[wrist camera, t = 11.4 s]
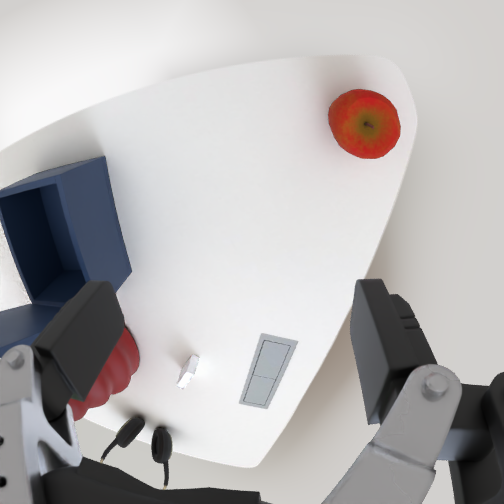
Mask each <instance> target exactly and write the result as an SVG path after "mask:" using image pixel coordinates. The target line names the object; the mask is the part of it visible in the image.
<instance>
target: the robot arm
mask: <svg viewBox="0 0 504 504" xmlns="http://www.w3.org/2000/svg"><path fill="white" fill-rule="evenodd" d="M124 325H125V323H124V316H123V314H122V311H121V308H120V305H119V302H118V300H117V297H116V294H115V291H114V288H113V286H112V284H111V283H110V282H109V281H96V280H90V281H88V282H87V283H86V284H85V285H84V286H83V287H82V288H81V290H80V291H79V292H78V293H77V294H76V295H75V296H74V297H73V298H71V299H70V300H68V301H67V302H66V303H65V304H64V306H63V307H62V308H61V309H60V310H59V313H57V314H56V315H55V316H54V317H53V320H51V321H50V322H49V323H48V324H47V326H46V327H45V328H44V329H43V331H42V332H41V333H40V334H39V335H38V337H37V338H36V339H35V340H34V342H33V343H32V344H31V346H28V345H17V346H15V347H13V348H11V349H9V350H8V351H7V352H6V353H5V354H4V355H3V356H2V358H1V359H0V504H271V503H267V502H264V501H261V497H260V493H259V492H255V491H238V490H227V489H217V488H210V487H209V488H197V489H196V488H195V489H174V490H159V489H156V488H153V487H151V486H149V485H147V484H145V483H143V482H141V481H140V480H138V479H136V478H134V477H132V476H130V475H129V474H127V473H125V472H124V471H122V470H120V469H118V468H115V467H112V466H109V465H106V464H103V463H100V462H97V461H93V460H91V459H88V458H85V457H83V456H82V453H81V450H80V446H79V442H78V438H77V434H76V429H75V424H74V419H73V413H72V409H71V407H70V405H69V404H68V402H69V400H70V398H71V399H75V400H78V401H82V402H84V401H85V399H86V397H87V396H88V394H89V392H90V390H91V388H92V386H93V385H94V383H95V381H96V379H97V377H98V375H99V374H100V372H101V370H102V368H103V367H104V365H105V363H106V361H107V359H108V358H109V356H110V354H111V353H112V351H113V349H114V347H115V346H116V344H117V342H118V341H119V339H120V337H121V335H122V334H123V331H124ZM350 335H351V341H352V345H353V350H354V354H355V359H356V364H357V369H358V373H359V378H360V383H361V388H362V393H363V399H364V404H365V410H366V416H367V421H368V425H370V424H377V423H380V428H379V430H378V431H377V433H376V434H375V436H374V437H373V439H372V440H371V442H369V443H368V444H367V445H366V447H365V448H364V449H363V451H362V452H361V453H360V455H359V456H358V458H357V459H356V461H355V462H354V463H353V465H352V466H351V468H350V469H349V470H348V471H347V473H346V474H345V475H344V477H343V478H342V479H341V480H340V482H339V483H338V484H337V485H336V487H335V488H334V489H333V490H332V492H331V493H330V494H329V495H328V496H327V498H326V499H325V500H324V501H323V502H322V503H321V504H422V502H423V500H424V499H425V497H426V495H427V493H428V491H429V489H430V487H431V485H432V483H433V481H434V478H435V474H436V470H434V465H435V462H436V460H448V462H449V467H450V474H451V479H452V485H453V491H454V499H455V504H504V372H502V373H500V374H498V375H497V376H496V377H495V378H494V379H493V381H492V382H491V384H490V386H482V385H469V384H462V383H460V380H459V379H458V377H457V376H456V375H455V373H453V372H452V371H451V370H449V369H448V368H446V367H443V366H440V365H438V364H437V361H436V359H435V357H434V355H433V353H432V350H431V348H430V346H429V344H428V342H427V339H426V338H425V335H424V333H423V331H422V329H421V328H420V325H419V323H418V321H417V319H416V318H415V315H414V313H413V311H412V309H411V307H410V305H409V304H408V303H407V302H406V301H405V300H404V299H403V298H402V297H400V296H399V295H398V294H391V295H389V293H388V291H387V289H386V287H385V285H384V283H383V281H382V279H359V280H357V281H356V285H355V292H354V299H353V307H352V314H351V321H350Z"/></svg>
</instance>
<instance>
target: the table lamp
mask: <svg viewBox="0 0 504 504" xmlns="http://www.w3.org/2000/svg"><path fill="white" fill-rule="evenodd" d="M139 360H140V358H139V352H138V349H137V346H136V344H135V341H134V339H133V338H132V336H131V335H130V333H129V332H128V330H127V329H126V328H125V327H124V331H123V334H122V335H121V337H120V339H119V341H118V342H117V344H116V346H115V347H114V349H113V351H112V353H111V354H110V356H109V358H108V359H107V361H106V363H105V365H104V367H103V368H102V370H101V372H100V374H99V375H98V377H97V379H96V381H95V383H94V385H93V386H92V388H91V390H90V392H89V394H88V396H87V397H86V399H85V401H84V402H82V401H78V400H75V399H71V398H70V400H69V402H68V404H69V405H70V407H71V409H72V413H73V419H74V421H77V420H79V419H81V418H82V417H83V416H84V415H85V414H86V412H87V410H88V409H89V408H94V407H99V406H101V405H104V404H105V403H106V402H107V401H108V399H109V397H110V395H111V394H116V393H119V392H121V391H123V390H124V389H125V388H127V386H128V384H129V382H130V380H131V375H133V374H134V373H135V372H136V371H137V369H138V367H139Z"/></svg>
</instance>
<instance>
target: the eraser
mask: <svg viewBox="0 0 504 504" xmlns="http://www.w3.org/2000/svg"><path fill="white" fill-rule="evenodd" d="M198 361H199V357H197V356H195V355H193V354H192V356H191V357H190V358H189V360H188V361H187V363H186V364H185V366H184V367H183V369H182V370H181V373H180V376H179V379H178V382H177V385H176V386H177V387H179V388H181V389H184V387H185V386H186V385H187V384H188V382H189V381H190V380H191V378H192V377H193V376H194V374H195V371H196V367H197V364H198Z"/></svg>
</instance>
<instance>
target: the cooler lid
mask: <svg viewBox="0 0 504 504" xmlns="http://www.w3.org/2000/svg"><path fill="white" fill-rule="evenodd" d="M61 308H62V307H57V306H47V305H37V304H28V305H24V306H20V307H16V308H12V309H8V310H4V311H1V312H0V358H2V356H3V355H4V354H5V353H6V352H7V351H8V350H9V349H11V348H13V347H15V346H17V345H28V346H31V344H32V343H33V342H34V340H35V339H36V338H37V337H38V335H39V334H40V333H41V332H42V331H43V329H44V328H45V327H46V326H47V324H48V323H49V322H50V321H51V320H53V317H54V316H55V315H56V314H57V313H59V310H60V309H61Z"/></svg>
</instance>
